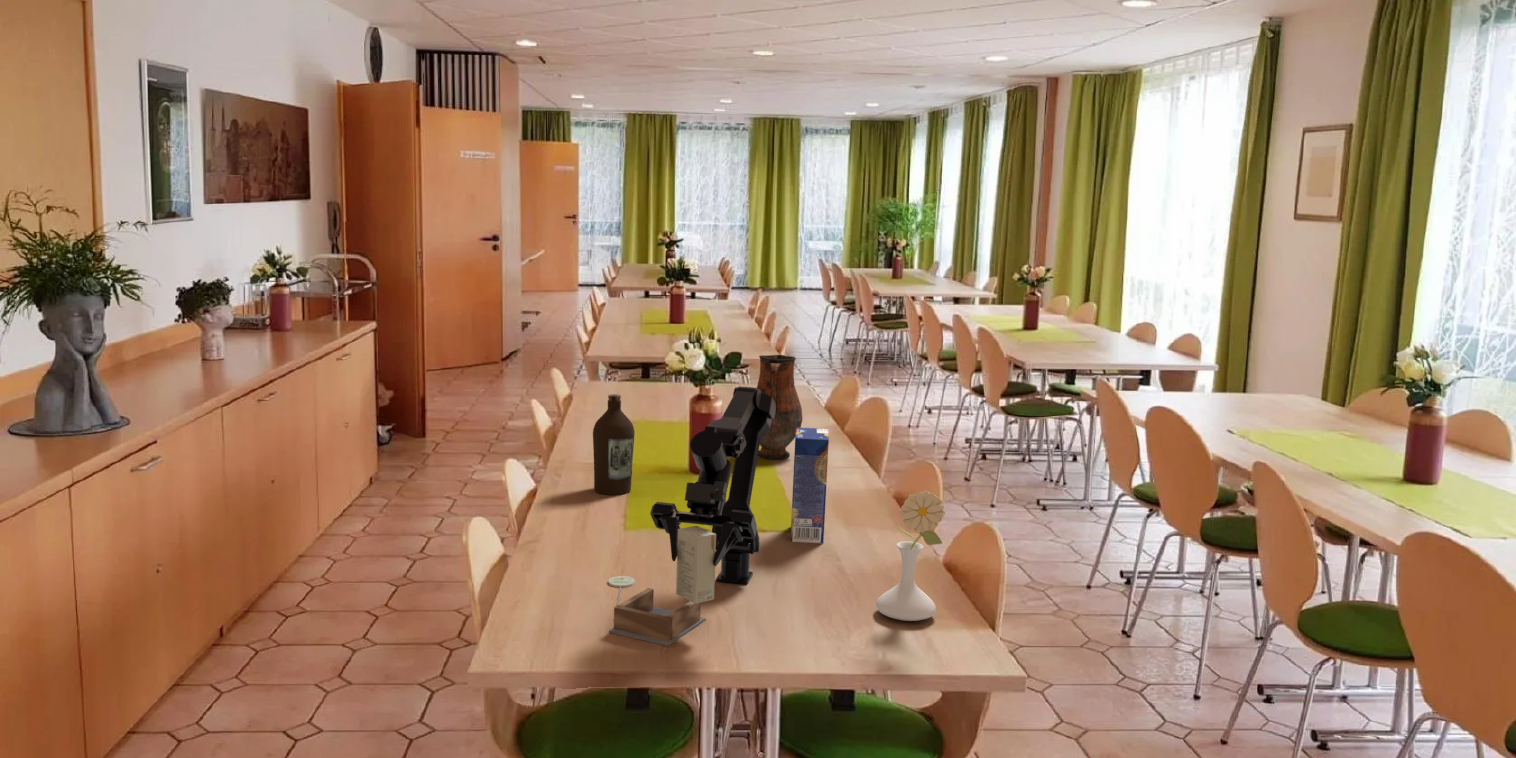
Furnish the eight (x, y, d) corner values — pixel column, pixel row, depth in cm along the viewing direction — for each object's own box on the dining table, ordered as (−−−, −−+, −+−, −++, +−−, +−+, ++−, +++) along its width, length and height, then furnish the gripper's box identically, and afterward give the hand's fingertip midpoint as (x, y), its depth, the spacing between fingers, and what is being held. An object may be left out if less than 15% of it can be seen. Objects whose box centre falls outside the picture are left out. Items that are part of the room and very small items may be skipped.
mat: (649, 607, 215) (649, 605, 215) (705, 620, 210) (706, 618, 210) (609, 632, 203) (609, 629, 203) (667, 646, 198) (667, 643, 198)
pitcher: (801, 450, 349) (806, 353, 344) (798, 467, 328) (803, 364, 323) (747, 447, 350) (751, 350, 345) (741, 463, 329) (745, 360, 324)
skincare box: (714, 600, 203) (718, 534, 201) (694, 605, 200) (698, 538, 198) (693, 588, 208) (697, 524, 206) (673, 593, 205) (677, 527, 203)
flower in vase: (862, 613, 217) (870, 485, 213) (900, 600, 225) (908, 476, 221) (917, 634, 208) (926, 501, 204) (955, 619, 216) (964, 491, 212)
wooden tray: (647, 608, 214) (648, 587, 213) (700, 620, 209) (700, 599, 209) (613, 628, 204) (614, 607, 203) (668, 641, 199) (668, 619, 198)
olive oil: (584, 488, 297) (586, 393, 293) (620, 483, 303) (622, 390, 299) (604, 497, 288) (606, 400, 284) (640, 492, 294) (643, 397, 290)
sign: (602, 603, 216) (609, 575, 231) (602, 608, 216) (609, 579, 231) (630, 604, 216) (635, 576, 231) (630, 608, 216) (635, 580, 231)
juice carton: (823, 543, 259) (828, 440, 255) (790, 541, 259) (795, 438, 255) (823, 528, 270) (828, 428, 266) (791, 526, 271) (796, 427, 267)
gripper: (654, 458, 206) (633, 535, 197) (755, 468, 202) (738, 547, 193) (666, 489, 215) (646, 564, 206) (763, 499, 211) (747, 576, 202)
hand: (693, 562), depth 201 cm, fingers closed on skincare box, 7 cm apart
